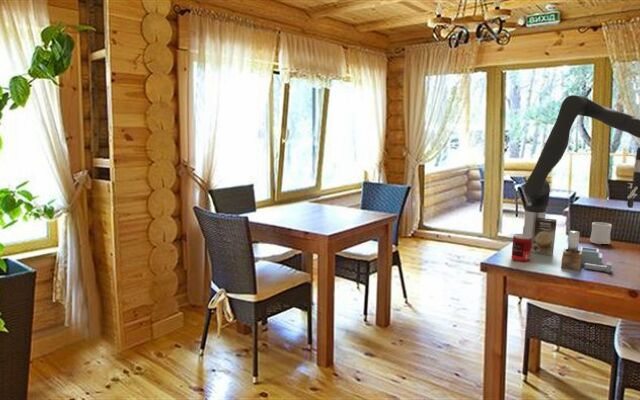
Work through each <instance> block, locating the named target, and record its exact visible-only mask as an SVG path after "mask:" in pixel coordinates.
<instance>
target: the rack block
mask: <svg viewBox="0 0 640 400" xmlns="http://www.w3.org/2000/svg"><path fill="white" fill-rule="evenodd" d="M579 250H581V251H582V260H581V265H583V264H584V265H583V266H585V263H589V264H596V265H602V262H603V261H602V260H603V253H600V252H599V251H600V249H599V248H593V247H587V246H580V249H579Z"/></svg>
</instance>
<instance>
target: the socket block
mask: <svg viewBox="0 0 640 400" xmlns="http://www.w3.org/2000/svg"><path fill="white" fill-rule="evenodd" d="M581 260H582V251H581V250H580V249H578V253H571V252H568V248H565V247H564V248H563V251H562V257H561V263H560V267H561V269H565V270H566V269H567V270H573V271H578V272H579V271H581V266H582V264H581Z"/></svg>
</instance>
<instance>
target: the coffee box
mask: <svg viewBox="0 0 640 400" xmlns="http://www.w3.org/2000/svg"><path fill="white" fill-rule="evenodd" d="M557 223H558V222H557V219H555V218H546V217H545V218H537V217H536V220H535V228H534V238H533V246H532V247H531V253H532V254H537V255H545V256H554V249H555V248H554V247H555V239H556V230H557V229H556V228H557Z"/></svg>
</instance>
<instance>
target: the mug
mask: <svg viewBox="0 0 640 400" xmlns="http://www.w3.org/2000/svg"><path fill="white" fill-rule="evenodd" d="M612 227H613V225H612V223H609V222H599V221H594V222H592V223H591V233H590V238H589V241H590V243H592V244H596V245H601V244H608V245H610V244H611V231H612Z"/></svg>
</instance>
